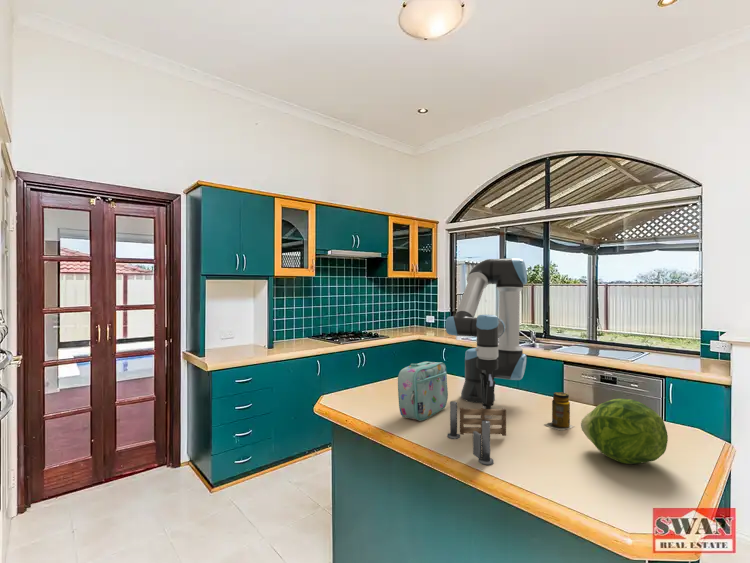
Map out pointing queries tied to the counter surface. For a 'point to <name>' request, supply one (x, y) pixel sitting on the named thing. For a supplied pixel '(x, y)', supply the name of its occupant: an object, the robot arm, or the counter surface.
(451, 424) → the hinge post
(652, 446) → the lettuce
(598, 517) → the counter surface
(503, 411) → the gate
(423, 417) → the lunch box
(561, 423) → the condiment
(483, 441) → the post
